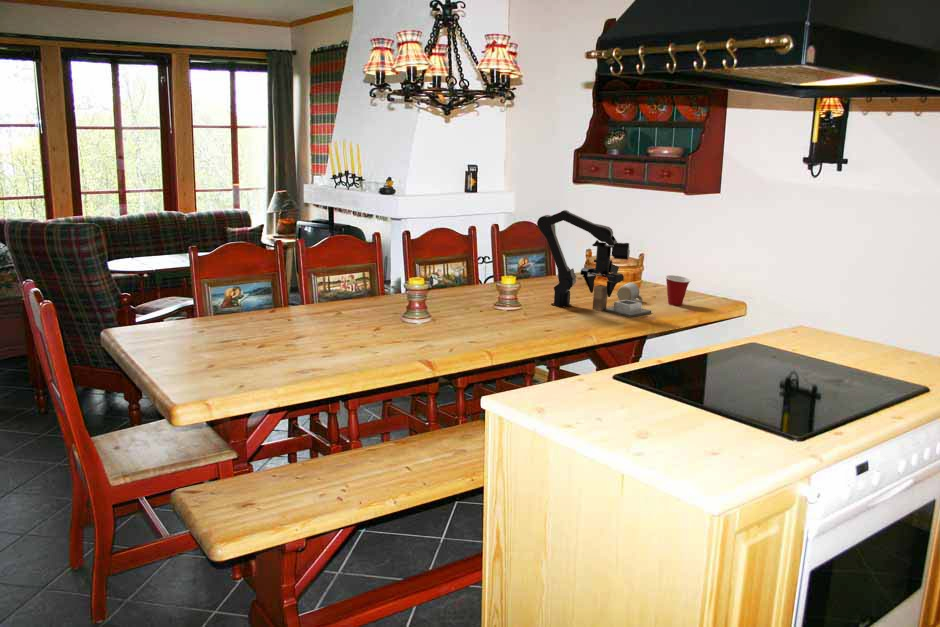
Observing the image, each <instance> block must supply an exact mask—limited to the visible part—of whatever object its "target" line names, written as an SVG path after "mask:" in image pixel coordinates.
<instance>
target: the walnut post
mask: <svg viewBox="0 0 940 627" xmlns="http://www.w3.org/2000/svg"><path fill="white" fill-rule="evenodd" d="M607 304H608V295H607V285H604V284H603V285H602V284H598V285H594V289H593V298H592V311H593V310H594V311H598V312H604V311H603V308H607V306H608V305H607Z"/></svg>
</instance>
